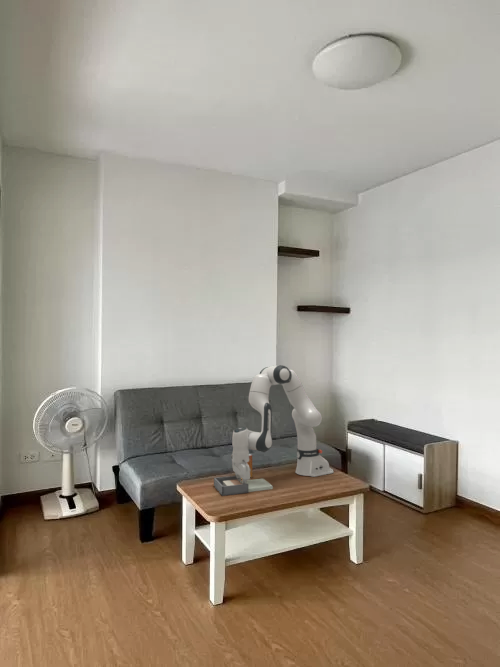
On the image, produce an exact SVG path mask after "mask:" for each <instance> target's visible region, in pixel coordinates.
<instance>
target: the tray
mask: <svg viewBox="0 0 500 667" xmlns="http://www.w3.org/2000/svg"><path fill="white" fill-rule="evenodd" d="M228 480H237V477H236V475H235V474H234V475H226V476H218V477H213V487H214V486H215V487H214V488H215V490H217V491H219V492H218V493H219V494H220V495H221V496H222V497H223V496H224V497H225V496H227V497H228V496H234V495H242V494H248V493H249V492H248V483H247V484H239V485H230V486H223V481H228Z"/></svg>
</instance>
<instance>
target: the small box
mask: <svg viewBox="0 0 500 667" xmlns="http://www.w3.org/2000/svg"><path fill="white" fill-rule="evenodd" d="M247 464H248V465H249V468H250V477H252V478H253V454H251V453H249V462H247ZM234 475H236V473H235V472H234ZM240 478H241V477H240Z"/></svg>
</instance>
